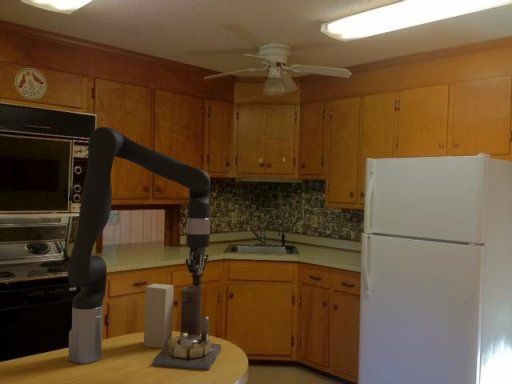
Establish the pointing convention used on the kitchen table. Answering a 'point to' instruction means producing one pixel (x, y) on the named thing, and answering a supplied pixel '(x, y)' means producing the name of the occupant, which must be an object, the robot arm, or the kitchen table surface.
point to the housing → (193, 363)
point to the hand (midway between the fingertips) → (196, 285)
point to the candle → (191, 310)
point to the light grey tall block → (158, 315)
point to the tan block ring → (196, 348)
